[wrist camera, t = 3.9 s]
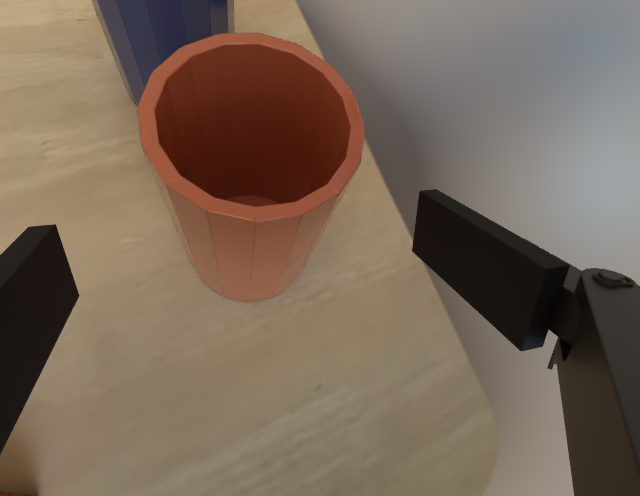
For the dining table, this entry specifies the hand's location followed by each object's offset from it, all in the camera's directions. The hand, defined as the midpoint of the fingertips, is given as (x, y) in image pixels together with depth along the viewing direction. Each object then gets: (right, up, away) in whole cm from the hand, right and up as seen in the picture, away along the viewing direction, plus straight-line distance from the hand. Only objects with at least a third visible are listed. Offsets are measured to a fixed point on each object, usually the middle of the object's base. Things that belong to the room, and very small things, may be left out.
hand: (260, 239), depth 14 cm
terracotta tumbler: (-2, 0, +9) cm, 9 cm away
